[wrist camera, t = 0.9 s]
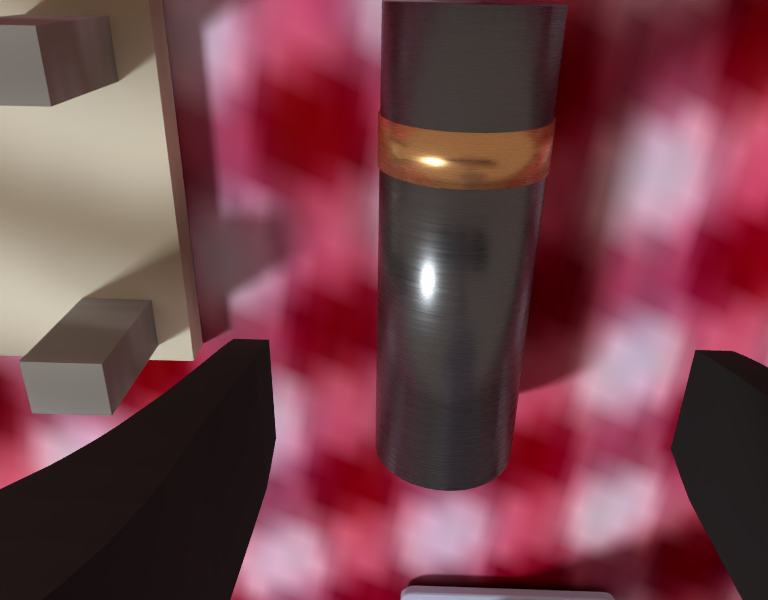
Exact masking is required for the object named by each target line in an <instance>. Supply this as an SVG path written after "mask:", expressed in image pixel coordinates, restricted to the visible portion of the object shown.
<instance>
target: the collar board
mask: <svg viewBox="0 0 768 600" xmlns="http://www.w3.org/2000/svg"><path fill="white" fill-rule="evenodd" d="M202 345H203V342H202V333H201V325H200V316H199V308H198V299H197V291H196V282H195V274H194V265H193V257H192V248H191V240H190V231H189V223H188V214H187V205H186V197H185V188H184V180H183V171H182V163H181V154H180V146H179V137H178V129H177V120H176V112H175V103H174V94H173V86H172V77H171V69H170V60H169V52H168V43H167V35H166V26H165V18H164V9H163V1H162V0H0V355H5V356H24V357H23V358H22V359H21V360H20V361H19V364H20V368H21V372H22V376H23V379H24V383H25V387H26V391H27V395H28V399H29V402H30V406H31V410H32V413H43V414H76V415H109V416H112V415H113V413H114V412H115V410H116V409H117V407H118V406H119V404H120V403H121V401H122V400H123V398H124V397H125V395H126V393H127V392H128V390H129V389H130V387H131V386H132V384H133V383H134V381H135V380H136V378H137V377H138V375H139V374H140V372H141V371H142V369H143V368H144V366H145V365H146V363H147V362H148V360H179V361H194V359H195V358H196V356H197V354H198V352H199V350H200V348H201V347H202Z"/></svg>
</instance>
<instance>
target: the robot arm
mask: <svg viewBox="0 0 768 600" xmlns="http://www.w3.org/2000/svg"><path fill="white" fill-rule="evenodd" d="M275 440H276V431H275V417H274V403H273V389H272V375H271V362H270V348H269V340H254V339H233V340H231V341H230V342H229V343H227V344H226V345H225V346H223V347H222V348H221V349H219V350H218V351H217V352H216V353H214V354H213V355H212V356H211V357H210V358H208V359H207V360H206V361H205V362H203V363H202V364H201V365H200V366H198V367H197V368H196V369H195V370H193V371H192V372H191V373H190V374H188V375H187V376H186V377H185V378H183V379H182V380H181V381H179V382H178V383H177V384H176V385H174V386H173V387H172V388H170V389H169V390H168V391H167V392H165V393H164V394H163V395H161V396H160V397H158V398H157V399H156V400H154V401H153V402H151V403H150V404H148V405H147V406H146V407H144V408H143V409H141V410H140V411H138V412H137V413H136V414H134V415H133V416H131V417H130V418H128V419H127V420H126V421H124V422H123V423H121V424H120V425H118V426H117V427H115V428H114V429H112V430H111V431H109V432H107V433H106V434H104V435H103V436H101V437H99V438H98V439H96V440H94V441H93V442H91V443H89V444H88V445H86V446H84V447H82V448H80V449H79V450H77V451H75V452H73V453H72V454H70V455H68V456H66V457H65V458H63V459H61V460H59V461H57V462H55V463H53V464H52V465H50V466H48V467H46V468H43V469H41V470H39V471H37V472H35V473H33V474H31V475H29V476H27V477H25V478H23V479H21V480H18V481H16V482H14V483H12V484H10V485H8V486H6V487H4V488H2V489H0V600H230V599H231V596H232V593H233V590H234V587H235V584H236V581H237V578H238V575H239V572H240V569H241V566H242V562H243V559H244V556H245V553H246V550H247V547H248V544H249V541H250V538H251V535H252V532H253V529H254V526H255V523H256V520H257V517H258V514H259V511H260V508H261V504H262V501H263V498H264V495H265V492H266V489H267V484H268V479H269V473H270V468H271V463H272V457H273V452H274V446H275ZM671 450H672V453H673V456H674V459H675V462H676V465H677V468H678V471H679V473H680V476H681V479H682V482H683V484H684V487H685V490H686V492H687V495H688V497H689V500H690V502H691V504H692V506H693V508H694V510H695V512H696V514H697V516H698V518H699V519H700V521H701V523H702V525H703V527H704V529H705V531H706V533H707V535H708V536H709V538H710V540H711V542H712V544H713V546H714V548H715V550H716V551H717V553H718V555H719V557H720V559H721V561H722V562H723V564H724V566H725V568H726V570H727V572H728V574H729V575H730V577H731V579H732V581H733V583H734V585H735V586H736V588H737V590H738V592H739V594H740V596H741V598H742V599H743V600H768V367H766V366H764V365H762V364H760V363H758V362H756V361H754V360H752V359H750V358H748V357H746V356H743V355H741V354H738V353H736V352H734V351H711V350H695V354H694V358H693V362H692V366H691V370H690V374H689V378H688V382H687V386H686V390H685V394H684V398H683V402H682V406H681V410H680V414H679V418H678V422H677V426H676V430H675V434H674V438H673V442H672V446H671ZM401 600H614V597H613V596H612V595H611V594H609V593H606V592H590V591H561V590H531V589H502V588H473V587H443V586H409V587H407V588H405V589H404V590H403V591H402V593H401Z"/></svg>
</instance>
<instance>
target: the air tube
mask: <svg viewBox="0 0 768 600" xmlns="http://www.w3.org/2000/svg"><path fill="white" fill-rule="evenodd" d="M567 12H568V4H565V3H557V2H545V1H527V0H382V35H381V104H380V110H379V112H378V167H379V168H380V173H379V242H378V311H377V380H376V450H377V453H378V456H379V458H380V460H381V461H382V462H383V464H384V465H385V466H386V467H387V468H388V469H389V470H390V471H391V472H392V473H394V474H395V475H396V476H398V477H400V478H401V479H403V480H405V481H407V482H409V483H412V484H415V485H417V486H421V487H424V488H429V489H435V490H445V491H457V490H466V489H471V488H475V487H478V486H481V485H484V484H486V483H488V482H490V481H492V480H493V479H495V478H496V477H498V476H499V475H500V474H501V473H502V472H503V471H504V470H505V468H506V467H507V465H508V463H509V460H510V457H511V449H512V441H513V434H514V426H515V418H516V410H517V402H518V394H519V387H520V379H521V371H522V363H523V355H524V348H525V340H526V332H527V324H528V316H529V309H530V301H531V293H532V285H533V277H534V269H535V262H536V254H537V246H538V238H539V230H540V223H541V215H542V207H543V199H544V191H545V184H546V177H547V176H548V174H549V170H550V162H551V154H552V146H553V139H554V131H555V123H556V118H555V117H554V113H555V105H556V98H557V90H558V82H559V74H560V66H561V58H562V51H563V43H564V35H565V27H566V19H567Z"/></svg>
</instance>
